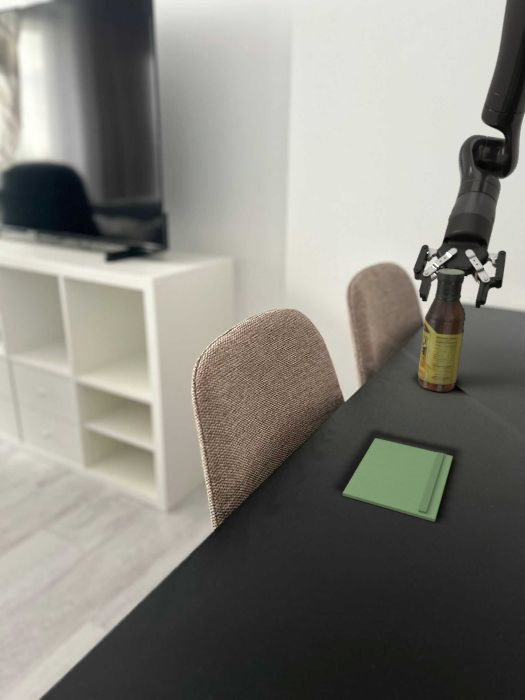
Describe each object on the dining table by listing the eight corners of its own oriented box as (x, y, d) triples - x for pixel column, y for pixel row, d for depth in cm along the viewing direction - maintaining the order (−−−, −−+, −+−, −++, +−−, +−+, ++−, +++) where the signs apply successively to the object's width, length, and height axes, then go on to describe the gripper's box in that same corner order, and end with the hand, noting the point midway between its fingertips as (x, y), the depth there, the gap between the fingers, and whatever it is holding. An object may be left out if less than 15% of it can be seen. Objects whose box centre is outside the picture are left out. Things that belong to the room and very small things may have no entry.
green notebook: (374, 440, 69) (375, 435, 69) (452, 458, 65) (453, 454, 65) (342, 495, 57) (342, 490, 57) (434, 522, 53) (435, 516, 53)
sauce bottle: (422, 376, 91) (436, 265, 84) (458, 384, 88) (476, 269, 81) (412, 389, 86) (426, 271, 79) (450, 397, 83) (468, 275, 76)
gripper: (512, 242, 90) (495, 320, 85) (430, 236, 97) (408, 308, 91) (516, 213, 84) (497, 295, 78) (427, 208, 91) (404, 284, 85)
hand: (450, 302), depth 85 cm, fingers open, 8 cm apart
